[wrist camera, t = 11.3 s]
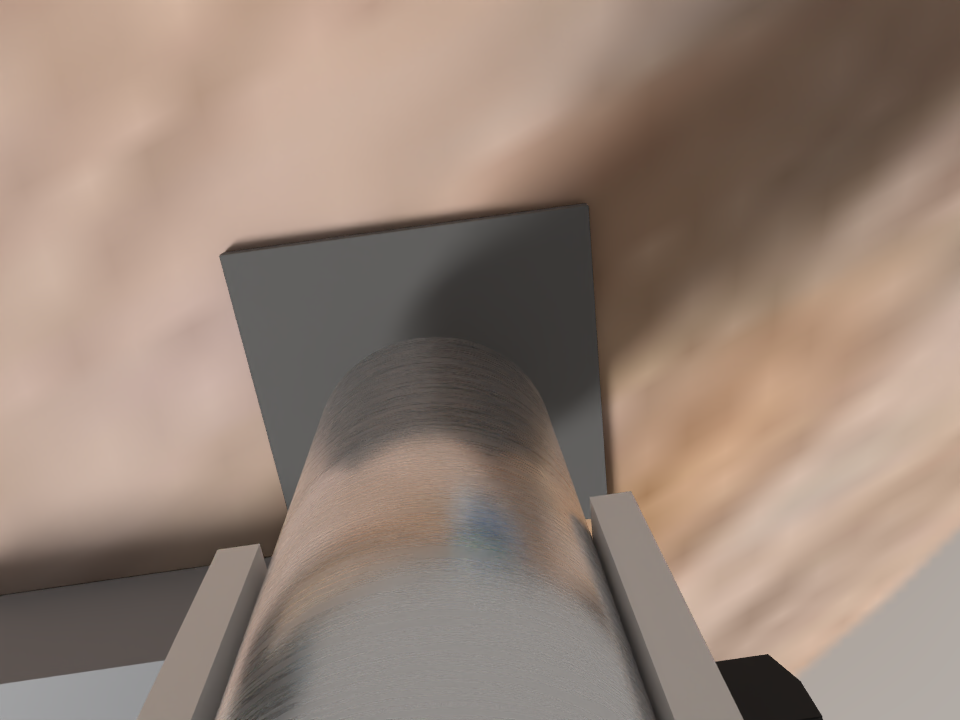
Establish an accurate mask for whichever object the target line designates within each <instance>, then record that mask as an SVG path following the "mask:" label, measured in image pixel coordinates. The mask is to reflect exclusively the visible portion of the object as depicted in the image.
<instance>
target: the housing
mask: <svg viewBox="0 0 960 720" xmlns="http://www.w3.org/2000/svg"><path fill="white" fill-rule="evenodd" d="M271 558H272V557H267V558H264V560H265V564H266V567H267V569H268V567H269V564H270V561H271ZM209 567H210V566H204V567H197V568H190V569H183V570H176V571H170V572H163V573H156V574H149V575H142V576H135V577H128V578H121V579H114V580H107V581H100V582H93V583H86V584H79V585H72V586H65V587H58V588H51V589H44V590H37V591H30V592H23V593H16V594H9V595H2V596H0V720H137V718H138V715H139V713H140V711H141V709H142V707H143V705H144V703H145V701H146V699H147V697H148V694H149V692H150V690H151V688H152V686H153V684H154V682H155V680H156V678H157V676H158V674H159V671H160V669H161V667H162V665H163V663H164V661H165V659H166V657H167V655H168V653H169V650H170V648H171V646H172V644H173V642H174V640H175V638H176V636H177V634H178V632H179V630H180V627H181V625H182V623H183V621H184V619H185V617H186V615H187V613H188V611H189V609H190V606H191V604H192V602H193V600H194V598H195V596H196V594H197V592H198V590H199V588H200V586H201V583H202V581H203V579H204V577H205V575H206V573H207V571H208V569H209Z"/></svg>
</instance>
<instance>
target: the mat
mask: <svg viewBox="0 0 960 720" xmlns="http://www.w3.org/2000/svg"><path fill="white" fill-rule="evenodd" d="M219 257H220V261H221V264H222V268H223V272H224V276H225V279H226V283H227V287H228V290H229V294H230V298H231V302H232V305H233V309H234V313H235V316H236V320H237V324H238V328H239V331H240V335H241V339H242V342H243V346H244V350H245V353H246V357H247V361H248V365H249V368H250V372H251V376H252V379H253V383H254V387H255V391H256V394H257V398H258V402H259V405H260V409H261V413H262V417H263V420H264V424H265V428H266V431H267V435H268V439H269V443H270V446H271V450H272V454H273V457H274V461H275V465H276V469H277V472H278V476H279V480H280V483H281V487H282V491H283V495H284V498H285V502H286V506H287V509H288V510H289V507H290V504H291V501H292V499H293V496H294V493H295V490H296V487H297V484H298V482H299V479H300V476H301V473H302V470H303V468H304V465H305V462H306V459H307V456H308V453H309V451H310V448H311V445H312V442H313V439H314V436H315V434H316V431H317V428H318V425H319V422H320V419H321V417H322V414H323V411H324V408H325V406H326V404H327V402H328V399H329V397H330V395H331V394H332V392H333V391H334V389H335V387H336V386H337V384H338V383H339V382H340V381H341V379H342V378H343V377H344V376H345V375H346V374H347V373H348V371H350V370H351V369H352V368H353V367H354V366H355V365H357V364H358V363H359V362H360V361H362V360H363V359H365V358H366V357H368V356H369V355H371V354H372V353H374V352H376V351H378V350H380V349H382V348H384V347H386V346H389V345H392V344H395V343H398V342H401V341H405V340H410V339H415V338H423V337H451V338H457V339H463V340H467V341H471V342H474V343H477V344H480V345H483V346H485V347H487V348H490V349H492V350H494V351H496V352H498V353H499V354H501V355H503V356H504V357H506V358H507V359H509V360H510V361H511V362H513V363H514V364H515V365H516V366H517V367H519V368H520V369H521V370H522V371H523V372H524V373H525V374H526V376H527V377H528V378H529V379H530V380H531V381H532V383H533V384H534V386H535V387H536V389H537V390H538V392H539V394H540V396H541V398H542V400H543V402H544V404H545V406H546V409H547V412H548V415H549V418H550V421H551V423H552V426H553V429H554V432H555V435H556V437H557V440H558V443H559V446H560V449H561V452H562V454H563V457H564V460H565V463H566V466H567V469H568V471H569V474H570V477H571V480H572V483H573V486H574V488H575V491H576V494H577V497H578V500H579V503H580V505H581V508H582V511H583V514H584V517H585V519H591V509H590V497H594V496H601V495H607V485H606V470H605V454H604V439H603V423H602V408H601V392H600V377H599V361H598V346H597V330H596V315H595V299H594V284H593V268H592V253H591V237H590V221H589V206H588V205H587V204H586V203H583V204H576V205H568V206H561V207H554V208H546V209H539V210H532V211H524V212H517V213H510V214H502V215H495V216H488V217H480V218H473V219H466V220H458V221H451V222H444V223H436V224H429V225H422V226H414V227H407V228H400V229H393V230H385V231H378V232H371V233H363V234H356V235H349V236H341V237H334V238H327V239H319V240H312V241H305V242H297V243H290V244H283V245H275V246H268V247H261V248H253V249H246V250H239V251H231V252H224V253H222V254H221V255H220V256H219Z"/></svg>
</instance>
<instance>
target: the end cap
mask: <svg viewBox="0 0 960 720" xmlns="http://www.w3.org/2000/svg"><path fill="white" fill-rule="evenodd" d="M214 720H656V718H655V715H654V712H653V709H652V706H651V703H650V701H649V698H648V695H647V692H646V689H645V686H644V684H643V681H642V678H641V675H640V672H639V669H638V667H637V664H636V661H635V658H634V655H633V652H632V650H631V647H630V644H629V641H628V638H627V635H626V633H625V630H624V627H623V624H622V621H621V619H620V616H619V613H618V610H617V607H616V604H615V602H614V599H613V596H612V593H611V590H610V587H609V585H608V582H607V579H606V576H605V573H604V570H603V568H602V565H601V562H600V559H599V556H598V553H597V551H596V548H595V545H594V542H593V539H592V536H591V534H590V531H589V528H588V525H587V522H586V520H585V517H584V514H583V511H582V508H581V505H580V503H579V500H578V497H577V494H576V491H575V488H574V486H573V483H572V480H571V477H570V474H569V471H568V469H567V466H566V463H565V460H564V457H563V454H562V452H561V449H560V446H559V443H558V440H557V437H556V435H555V432H554V429H553V426H552V423H551V421H550V418H549V415H548V412H547V409H546V406H545V404H544V402H543V400H542V398H541V396H540V394H539V392H538V390H537V389H536V387H535V386H534V384H533V383H532V381H531V380H530V379H529V378H528V377H527V376H526V374H525V373H524V372H523V371H522V370H521V369H520V368H519V367H517V366H516V365H515V364H514V363H513V362H511V361H510V360H509V359H507V358H506V357H504V356H503V355H501V354H499V353H498V352H496V351H494V350H492V349H490V348H487V347H485V346H483V345H480V344H477V343H474V342H471V341H467V340H463V339H457V338H451V337H423V338H415V339H410V340H405V341H401V342H398V343H395V344H392V345H389V346H386V347H384V348H382V349H380V350H378V351H376V352H374V353H372V354H371V355H369V356H368V357H366V358H365V359H363V360H362V361H360V362H359V363H358V364H357V365H355V366H354V367H353V368H352V369H351V370H350V371H348V373H347V374H346V375H345V376H344V377H343V378H342V379H341V381H340V382H339V383H338V384H337V386H336V387H335V389H334V391H333V392H332V394H331V395H330V397H329V399H328V402H327V404H326V406H325V408H324V411H323V414H322V417H321V419H320V422H319V425H318V428H317V431H316V434H315V436H314V439H313V442H312V445H311V448H310V451H309V453H308V456H307V459H306V462H305V465H304V468H303V470H302V473H301V476H300V479H299V482H298V484H297V487H296V490H295V493H294V496H293V499H292V501H291V504H290V507H289V510H288V513H287V516H286V518H285V521H284V524H283V527H282V530H281V533H280V535H279V538H278V541H277V544H276V547H275V550H274V552H273V555H272V558H271V561H270V564H269V567H268V569H267V572H266V575H265V578H264V581H263V584H262V586H261V589H260V592H259V595H258V598H257V600H256V603H255V606H254V609H253V612H252V615H251V617H250V620H249V623H248V626H247V629H246V632H245V634H244V637H243V640H242V643H241V646H240V649H239V651H238V654H237V657H236V660H235V663H234V666H233V668H232V671H231V674H230V677H229V680H228V683H227V685H226V688H225V691H224V694H223V697H222V700H221V702H220V705H219V708H218V711H217V714H216V716H215V719H214Z"/></svg>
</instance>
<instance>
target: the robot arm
mask: <svg viewBox="0 0 960 720" xmlns="http://www.w3.org/2000/svg"><path fill="white" fill-rule="evenodd" d="M590 509H591V523H592V536H593V542H594V545H595V548H596V551H597V553H598V556H599V559H600V562H601V565H602V568H603V570H604V573H605V576H606V579H607V582H608V585H609V587H610V590H611V593H612V596H613V599H614V602H615V604H616V607H617V610H618V613H619V616H620V619H621V621H622V624H623V627H624V630H625V633H626V635H627V638H628V641H629V644H630V647H631V650H632V652H633V655H634V658H635V661H636V664H637V667H638V669H639V672H640V675H641V678H642V681H643V684H644V686H645V689H646V692H647V695H648V698H649V701H650V703H651V706H652V709H653V712H654V715H655V718H656V720H823V719H822V715H821V714H820V712H819V710H818V709H817V707H816V705H815V704H814V702H813V701H812V699H811V697H810V696H809V694H808V693H807V691H806V689H805V688H804V686H803V685H802V683H801V681H799V680H798V679H797V678H796V677H795V676H793V675H792V674H791V673H790V672H789V671H787V670H786V669H785V668H784V667H783V666H781V665H780V664H779V663H778V662H777V661H775V660H774V659H773V658H772V657H771V656H769V655H768V654H766V655H759V656H752V657H745V658H738V659H731V660H725V661H718V662H715V661H714V659H713V657H712V655H711V653H710V651H709V649H708V647H707V644H706V642H705V640H704V638H703V636H702V634H701V632H700V630H699V628H698V626H697V624H696V622H695V620H694V618H693V616H692V614H691V612H690V610H689V608H688V606H687V604H686V602H685V600H684V598H683V596H682V594H681V592H680V590H679V588H678V586H677V584H676V582H675V580H674V577H673V575H672V573H671V571H670V569H669V567H668V565H667V563H666V561H665V559H664V557H663V555H662V553H661V551H660V549H659V547H658V545H657V543H656V541H655V539H654V537H653V535H652V533H651V531H650V529H649V527H648V525H647V523H646V521H645V519H644V517H643V515H642V513H641V511H640V508H639V506H638V504H637V502H636V500H635V498H634V496H633V494H632V492H631V491H629V492H622V493H615V494H608V495H601V496H594V497H590ZM266 572H267V567H266V564H265V560H264V557H263V553H262V550H261V546H260V544H254V545H246V546H239V547H232V548H225V549H218V550H217V552H216V554H215V556H214V558H213V560H212V563H211V565H210V567H209V569H208V571H207V573H206V575H205V577H204V579H203V581H202V583H201V586H200V588H199V590H198V592H197V594H196V596H195V598H194V600H193V602H192V604H191V606H190V609H189V611H188V613H187V615H186V617H185V619H184V621H183V623H182V625H181V627H180V630H179V632H178V634H177V636H176V638H175V640H174V642H173V644H172V646H171V648H170V650H169V653H168V655H167V657H166V659H165V661H164V663H163V665H162V667H161V669H160V671H159V674H158V676H157V678H156V680H155V682H154V684H153V686H152V688H151V690H150V692H149V694H148V697H147V699H146V701H145V703H144V705H143V707H142V709H141V711H140V713H139V715H138V718H137V720H214V719H215V716H216V714H217V711H218V708H219V705H220V702H221V700H222V697H223V694H224V691H225V688H226V685H227V683H228V680H229V677H230V674H231V671H232V668H233V666H234V663H235V660H236V657H237V654H238V651H239V649H240V646H241V643H242V640H243V637H244V634H245V632H246V629H247V626H248V623H249V620H250V617H251V615H252V612H253V609H254V606H255V603H256V600H257V598H258V595H259V592H260V589H261V586H262V584H263V581H264V578H265V575H266Z"/></svg>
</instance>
